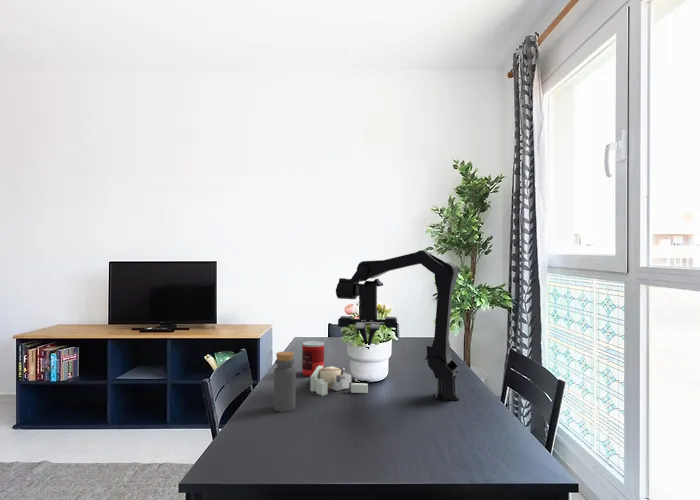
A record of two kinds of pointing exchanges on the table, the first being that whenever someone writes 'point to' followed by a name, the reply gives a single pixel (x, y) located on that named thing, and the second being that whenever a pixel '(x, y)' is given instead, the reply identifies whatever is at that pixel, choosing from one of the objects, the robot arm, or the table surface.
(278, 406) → the bottle
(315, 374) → the dock
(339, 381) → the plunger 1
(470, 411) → the table surface
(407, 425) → the table surface
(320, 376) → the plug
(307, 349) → the canned food
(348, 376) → the plunger
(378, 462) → the table surface
